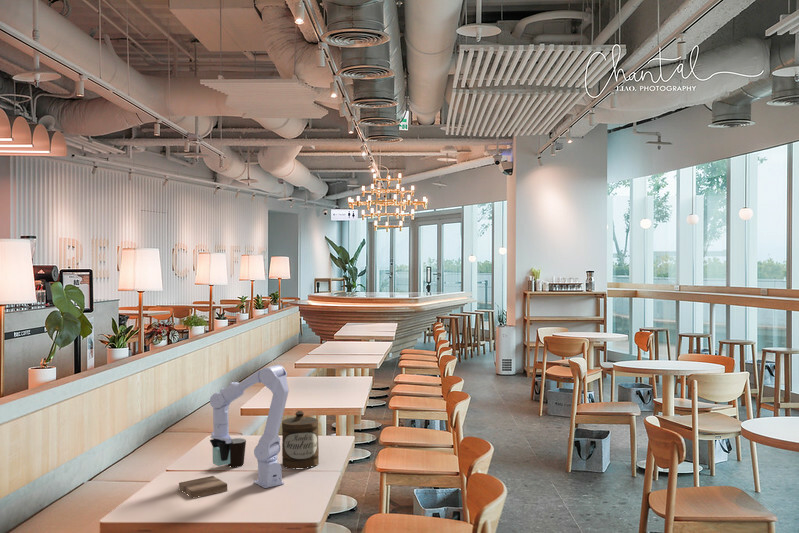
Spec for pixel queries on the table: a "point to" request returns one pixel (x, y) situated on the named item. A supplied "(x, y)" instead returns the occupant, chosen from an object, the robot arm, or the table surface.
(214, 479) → the walnut plinth
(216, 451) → the teal block
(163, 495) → the table surface
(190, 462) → the table surface
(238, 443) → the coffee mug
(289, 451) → the wooden container
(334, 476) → the table surface
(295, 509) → the table surface
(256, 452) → the robot arm
